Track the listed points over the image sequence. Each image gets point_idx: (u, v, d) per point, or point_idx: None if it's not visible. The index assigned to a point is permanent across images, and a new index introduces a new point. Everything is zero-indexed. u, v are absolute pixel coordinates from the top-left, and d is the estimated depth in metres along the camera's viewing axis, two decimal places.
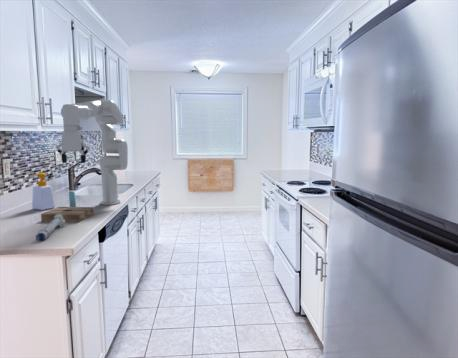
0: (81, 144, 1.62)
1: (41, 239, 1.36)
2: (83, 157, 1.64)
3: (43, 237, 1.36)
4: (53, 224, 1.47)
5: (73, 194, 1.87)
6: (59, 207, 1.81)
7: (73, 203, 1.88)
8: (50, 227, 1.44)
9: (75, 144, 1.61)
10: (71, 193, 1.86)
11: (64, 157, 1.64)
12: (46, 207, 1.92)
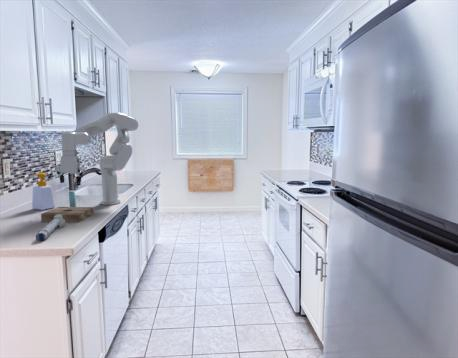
0: (77, 167, 1.84)
1: (41, 239, 1.36)
2: (79, 178, 1.86)
3: (43, 237, 1.36)
4: (53, 224, 1.47)
5: (73, 194, 1.87)
6: (59, 207, 1.81)
7: (73, 203, 1.88)
8: (50, 227, 1.44)
9: (72, 167, 1.83)
10: (71, 193, 1.86)
11: (62, 178, 1.86)
12: (46, 207, 1.92)
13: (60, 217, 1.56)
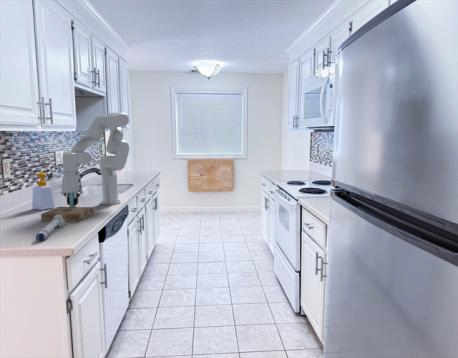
0: (79, 187, 1.86)
1: (41, 239, 1.36)
2: (76, 200, 1.88)
3: (43, 237, 1.36)
4: (53, 224, 1.47)
5: (73, 194, 1.87)
6: (59, 207, 1.81)
7: (73, 203, 1.88)
8: (50, 227, 1.43)
9: (73, 187, 1.85)
10: (71, 193, 1.86)
11: None
12: (46, 207, 1.92)
13: (60, 217, 1.56)
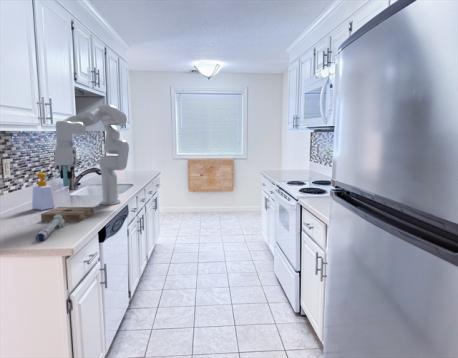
0: (73, 159, 1.70)
1: (41, 239, 1.36)
2: (70, 173, 1.72)
3: (43, 237, 1.36)
4: (52, 224, 1.47)
5: (67, 167, 1.71)
6: (59, 207, 1.81)
7: (67, 177, 1.72)
8: (49, 227, 1.43)
9: (67, 159, 1.69)
10: None
11: (62, 173, 1.72)
12: (46, 207, 1.92)
13: (60, 217, 1.56)
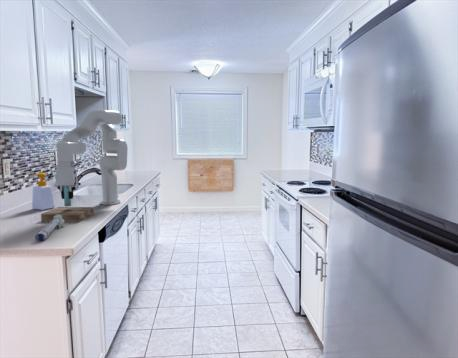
0: (74, 179, 1.71)
1: (40, 239, 1.36)
2: (71, 193, 1.72)
3: (42, 237, 1.36)
4: (52, 224, 1.47)
5: (68, 187, 1.72)
6: (59, 207, 1.81)
7: (68, 197, 1.72)
8: (49, 227, 1.43)
9: (68, 179, 1.70)
10: (66, 186, 1.71)
11: (63, 193, 1.73)
12: (46, 207, 1.92)
13: (60, 217, 1.55)
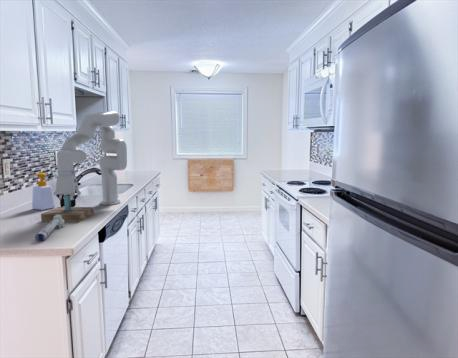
0: (75, 188, 1.71)
1: (40, 240, 1.36)
2: (73, 202, 1.73)
3: (42, 238, 1.36)
4: (52, 224, 1.47)
5: (68, 198, 1.73)
6: (59, 207, 1.81)
7: (68, 208, 1.73)
8: (49, 227, 1.43)
9: (69, 188, 1.70)
10: (66, 197, 1.72)
11: (62, 201, 1.73)
12: (46, 207, 1.92)
13: (59, 217, 1.55)
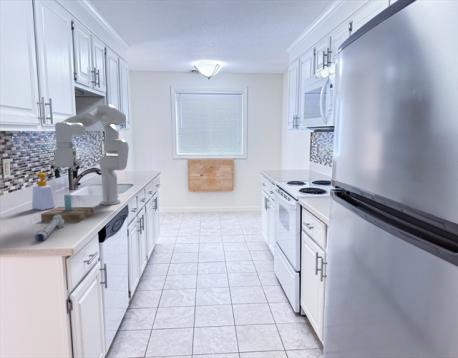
0: (73, 160, 1.69)
1: (40, 240, 1.36)
2: (75, 172, 1.71)
3: (42, 238, 1.35)
4: (52, 225, 1.46)
5: (69, 198, 1.73)
6: (59, 207, 1.81)
7: (69, 208, 1.73)
8: (49, 228, 1.43)
9: (67, 160, 1.68)
10: (66, 197, 1.72)
11: (57, 172, 1.71)
12: (46, 207, 1.92)
13: (59, 217, 1.55)
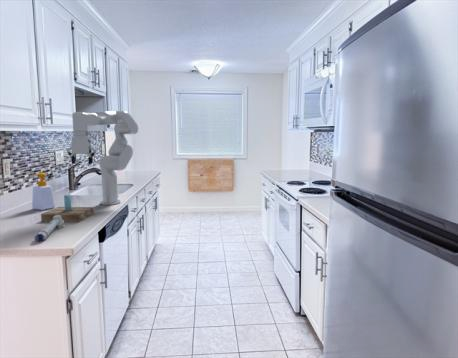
0: (89, 147, 1.83)
1: (40, 240, 1.35)
2: (90, 159, 1.84)
3: (42, 238, 1.35)
4: (52, 225, 1.46)
5: (69, 198, 1.73)
6: (59, 207, 1.81)
7: (69, 208, 1.73)
8: (49, 228, 1.43)
9: (83, 147, 1.82)
10: (66, 197, 1.72)
11: (73, 159, 1.85)
12: (46, 207, 1.92)
13: (59, 218, 1.55)
